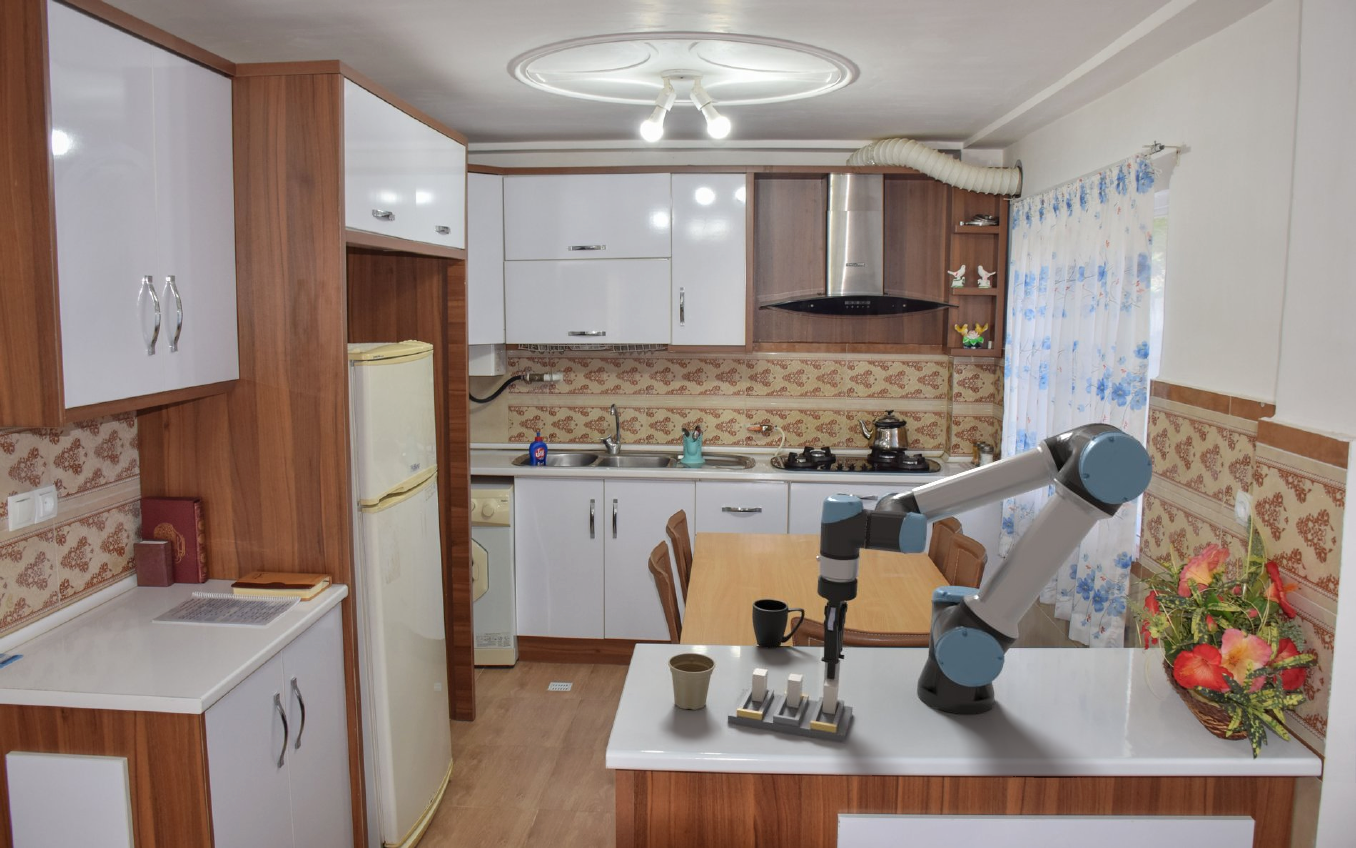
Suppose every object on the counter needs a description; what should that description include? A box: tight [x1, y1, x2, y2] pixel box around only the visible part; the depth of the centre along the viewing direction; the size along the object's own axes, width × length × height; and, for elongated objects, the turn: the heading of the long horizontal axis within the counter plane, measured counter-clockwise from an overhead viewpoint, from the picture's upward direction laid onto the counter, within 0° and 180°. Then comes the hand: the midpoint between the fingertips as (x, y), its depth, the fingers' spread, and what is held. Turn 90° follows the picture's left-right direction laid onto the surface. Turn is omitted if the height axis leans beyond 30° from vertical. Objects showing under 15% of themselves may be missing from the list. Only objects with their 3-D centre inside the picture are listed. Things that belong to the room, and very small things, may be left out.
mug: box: [751, 598, 805, 649], centre depth 210 cm, size 8×12×10 cm
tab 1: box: [751, 667, 769, 702], centre depth 179 cm, size 2×3×6 cm
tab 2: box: [786, 673, 804, 708], centre depth 177 cm, size 2×3×6 cm
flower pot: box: [667, 652, 717, 711], centre depth 180 cm, size 9×9×9 cm
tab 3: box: [822, 679, 840, 714], centre depth 175 cm, size 2×3×6 cm
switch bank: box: [727, 685, 854, 744], centre depth 175 cm, size 22×12×3 cm, turn 72°
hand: (830, 691), depth 178 cm, fingers closed
